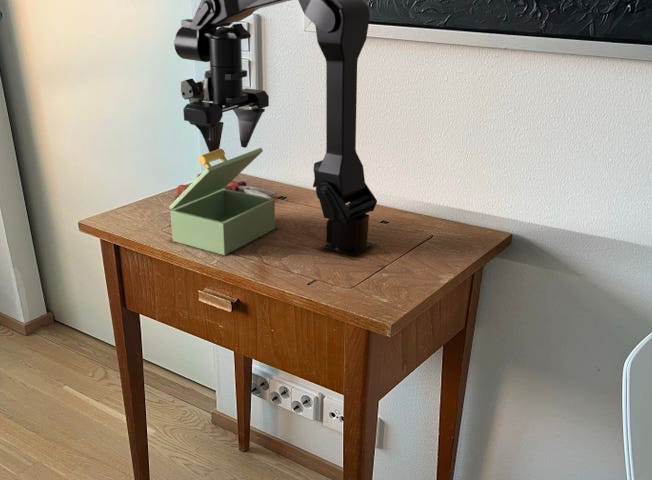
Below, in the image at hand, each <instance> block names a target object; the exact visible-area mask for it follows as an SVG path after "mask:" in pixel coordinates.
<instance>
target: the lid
mask: <svg viewBox="0 0 652 480" xmlns="http://www.w3.org/2000/svg"><path fill="white" fill-rule="evenodd" d="M263 152H264V149H263V148H262V147H259V148H257V149H254V150H251V151H248V152H246V153H243V154H240V155H238V156H236V157H233V158H230V159H227V158H226V152H225V150H224V149H223V148H219V149H218V150H215V151H212V152H209V151H208V152H207V153H204V154H201V155H199V156H198V159H197V160H198V163H199V164H200V165H202V166H204V168H205V170H203V171H202V172H201V173H202V174H201V175H200V176H199V177H198V178H197V177H196V178H195V179H194V181H193V182H192V183H191V184H190V185H188V186H189V187H188V188H187V189H186V190H185V191H184V192H183V193H182V194H181V195H180V196H179V195H178V197H177V198H176V199H175V200H174V201H173V202H172V203H171V204H170V205H168V208H169V209H170V211H171V210H173V209H176V208H178V207H181V206H183V205H185V204H188V203H190V202H193V201H195V200H197V199H199V198H201V197H204V196H206V195H208V194H211V193H213V192H215V191H218V190H220V189H223V188H225V187H226V186H227V185H228V184H229V183H230V182H231V181H234V180H235V178H236V177H238V176H239V175H240V174H241V173H242V172H243V171H244V170H245V169H246V168H247V167H248V166H249V165H250V164H251V163H253V162H254V161H255V159H257V157H259V156H260V155H261V154H262V153H263ZM217 160H220V163H216V164H214V165H211V164H210V163H212V162H214V161H217Z"/></svg>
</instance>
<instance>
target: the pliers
mask: <svg viewBox="0 0 652 480" xmlns="http://www.w3.org/2000/svg"><path fill="white" fill-rule="evenodd" d="M202 173H203V172H201V173H198V174H197V175H196V179H197V178H198V177H199V176H200V175H201V174H202ZM189 186H190V185H188V184H187V185H186V184H179V185H178V186H177V187H176V194H177V196H178V197H179V196H180V195H181V194H182V193H183V192H184V191H185V190H186V189H187V188H188V187H189ZM224 189H229V190H233V191H238V192H243V193H247V194H252V195H256V196H261V197H265V198H270V199H272V196H271V195H277V192H276V191H273V190H270V189H265V188H261V187H256V186H251V185H250V186H249V185H247V182H246V181H243V180H241V181H235V180H232V181H231V182H230V183H229V184H228V185H227V186H226V187H225V188H224ZM220 190H221V189H220ZM218 191H219V190H218ZM215 192H216V191H215ZM213 193H214V192H213ZM211 194H212V193H211ZM208 195H209V194H208ZM206 196H207V195H206ZM204 197H205V196H204ZM201 198H202V197H201ZM199 199H200V198H199Z"/></svg>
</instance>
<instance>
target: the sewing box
mask: <svg viewBox="0 0 652 480" xmlns="http://www.w3.org/2000/svg"><path fill="white" fill-rule="evenodd" d="M275 201H276V200H275V198H265V197H261V196H256V195H252V194H247V193H243V192H238V191H233V190H229V189H224V188H223V189H221V190H219V191H216V192H214V193H212V194H209V195H207V196H205V197H202V198H200V199H196V200H194V201H192V202H189V203H187V204H184V205H182V206H180V207H177V208H175V209H172V210H171V209H170V211H169V214H170V224H171V225H170V226H171V236H172V242H174V243H179V244H181V245H186V246H188V247H193V248H197V249H200V250H205V251H208V252H210V253H211V252H212V253H215V254H219V255H223V256H226V255H228V254H229V253H232V252H234V251H236V250H238V249H239V248H241V247H243V246H245V245H247V244H249V243H251V242H253V241H254V240H257V239H258V238H261V237H263V236H264V235H266V234H268V233H270V232H272V231H274V230H275V229H276V217H275V216H276V202H275Z"/></svg>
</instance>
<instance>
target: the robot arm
mask: <svg viewBox="0 0 652 480" xmlns="http://www.w3.org/2000/svg"><path fill="white" fill-rule="evenodd" d="M290 1H292V0H200V2H199V5H198V8H197V9H196V12H195V13H194V16H193V18H185V19H181V21H180V23H181V24H180V25H181V27H180V28H178V30H177V31H176V34H175V37H174V41H173V45H174V50H175V52H176V53H175V54H177V56H178V57H179V58H181V59H183V60H189V61H195V62H203V63H209V70H205V73H204V79H203V80H200V81H197V82H196V81H195V80H194V78H188V79H184V80H182V81H180V93H181V97H182V98H183V99H184V100H188V101H189V103H187V104H186V105H185V106H184V107H183V108H182V111H183V120H184V121H185V122H188V123H189V125H191V126H195V127H196V128H197V129H198V130H199V131H200V134H201V135H202V138H203V140H204V143H205V145H206V148H207V150H208V153H209V152H212V151H215V150H218V149H220V147H221V141H222V134H223V129H224V122H223V121H221V120H222V119H223V115H224V113H225V112H230V111H233V113H234V114H235V116H236V117H237V123H238V132H239V133H238V134H239V141H240V147H241V148H247V147H248V145H249V143H250V140H251V138H252V136H253V134H254V132H255V129H256V127H257V125H258V123H259V121H260V119H261V117H262V115H263V113H265V111H266V109H265V108H268V107H269V106H270V97H269V95H268V93H267V91H266V90H262V89H261V90H260V89H255V88H248V87H247V88H244V87H243V85H244V83H243V78H246V77H248V70H245V69H243V55H242V54H243V52H242V51H243V49H242V40H247V39H250V38H251V37H252V34H251V33H250V32H249V31H248V30H247V29H246V28H245V26H244V25H243V24H242V22H241V21H243V20H245V19H247V18H249V17H250V16H252V15H253V14H254V12H255V11H257V10H259V9H262V8H263V9H264V8H267V7H271V6H274V5H279V4H282V3H283V4H284V3H286V2H290ZM297 2H298V3H299V6H300V8H301V10H302V12H303V15H304V16H305V17H306V18H307V19H309V21H310V22H311V23H312V24H313V25H314V27H315V35H316V41H317V44H318V47H319V48H320V51H321V53H322V56H323V57H324V59H325V65H326V67H325V70H326V71H325V72H326V73H325V74H326V75H325V76H326V77H325V78H326V79H325V80H326V81H325V83H326V84H325V85H326V86H325V87H326V88H325V92H326V93H325V95H326V96H325V97H326V100H325V104H326V105H325V106H326V107H325V109H326V110H325V113H326V114H325V118H326V119H325V120H326V121H325V124H326V125H325V130H326V131H325V135H326V136H325V138H326V139H325V140H326V143H325V144H326V146H325V153H324V157H323V159H322V160H319V161H317V162H314V163H313V174H314V175H313V176H314V178H313V184H312V188H315V194H316V197H317V199H318V200H319V202H320V208H321V211H322V216H323V218H324V219H328V220H326V231H325V233H326V234H325V243H326V244H325V245H323V250H325V251H329V252H332V253H337V254H342V255H345V256H349V257H357V256H359V255H360V254H361V253H363V252H365V251H366V250H368V249H369V248H370V247H372V242H371V241H368V239H369V225H370V214H368V213H370V212H373V211H375V208H376V206H377V203H378V199H377V198H376V197H375V195H374V194H373V192H372V190H371V189H370V188H369V186H368V184H367V183H366V178H365V172H364V170H365V169H364V165H363V163H362V161H361V159H360V156H359V155H358V153H357V144H356V143H357V102H358V101H357V98H358V97H357V96H358V95H357V94H358V61H359V57H360V54H361V53H362V50H363V48H364V46H365V43H366V42H367V37H368V31H369V24H370V16H371V15H370V9H369V6H368V5H367V4H366V2H365V1H364V0H297ZM237 22H239V23H237ZM240 22H241V23H240ZM234 23H235V24H234ZM230 26H231V27H230Z"/></svg>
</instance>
